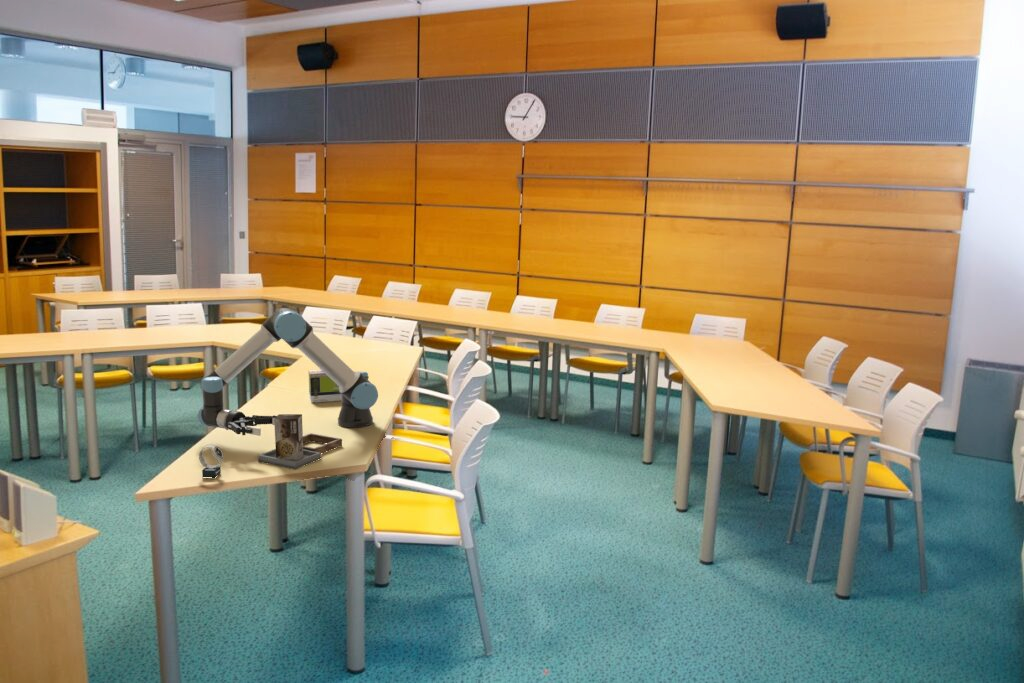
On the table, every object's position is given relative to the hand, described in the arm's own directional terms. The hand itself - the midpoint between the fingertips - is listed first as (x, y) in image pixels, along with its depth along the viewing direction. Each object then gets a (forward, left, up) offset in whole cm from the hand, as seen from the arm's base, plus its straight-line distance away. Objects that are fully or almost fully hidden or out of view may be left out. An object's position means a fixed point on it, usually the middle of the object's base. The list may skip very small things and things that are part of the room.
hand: (273, 427), depth 298 cm
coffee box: (0, +8, -11) cm, 13 cm away
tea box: (-81, -44, -12) cm, 93 cm away
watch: (+27, -3, -12) cm, 30 cm away
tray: (0, +8, -12) cm, 14 cm away
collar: (-16, +5, -12) cm, 20 cm away
